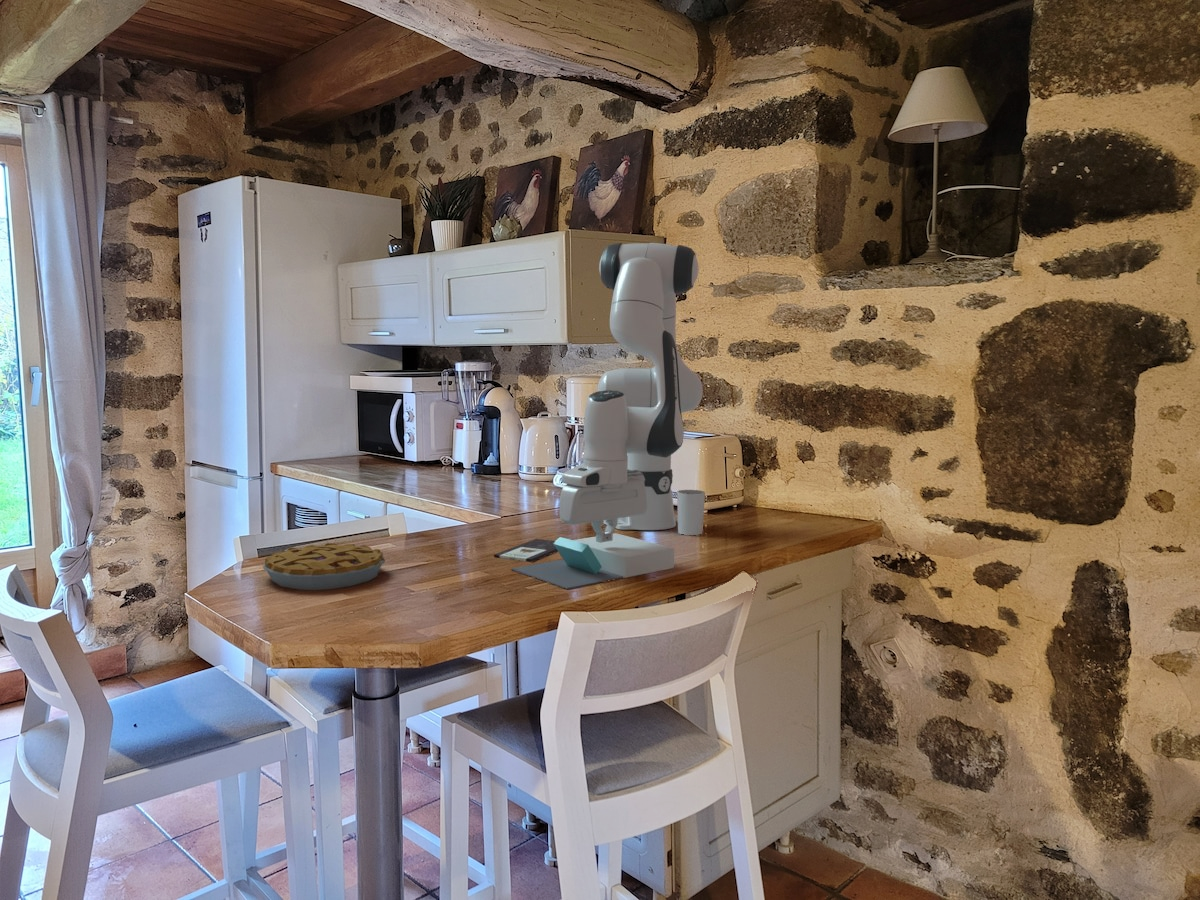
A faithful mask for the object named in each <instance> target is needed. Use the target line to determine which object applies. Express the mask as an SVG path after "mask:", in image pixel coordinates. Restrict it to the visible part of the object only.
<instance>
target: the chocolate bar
mask: <svg viewBox="0 0 1200 900" xmlns="http://www.w3.org/2000/svg"><path fill="white" fill-rule="evenodd" d="M555 541H556V540H552V539H551V540H549V539H541V538H540V539H539V538H535V539H532V540H529V541H527V542H524V543H522V544H519V545H516V546H514V547H511V548H509V549H506V550H503V551H500V552H498V553H494V554H493V557H494V558H498V559H504V560H513V561H514V560H515V561H519V560H520V561H521V562H527V561H528V563H529V562H530V563H533V562H535V561H537V559H538V560H540V559H542V558H544V556H545V557H547V556H549V555H551V553H552V554H554V553H557V552H558V550H557V549H556V547H555V546H554V544H553V543H554V542H555ZM546 555H547V556H546ZM539 558H540V559H539ZM520 561H519V562H520ZM532 561H533V562H532Z"/></svg>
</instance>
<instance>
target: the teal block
mask: <svg viewBox="0 0 1200 900" xmlns="http://www.w3.org/2000/svg"><path fill="white" fill-rule="evenodd" d="M573 540H574V539H573ZM573 540H572V539H568V538H566V537H561V536H559V537H558V538H557V539H556V540H554V541H555V542H554V543H553V544H554V546H555V547H556V549H557V550H558V551H557V552H558V554H559V556H561V558H562V559H563V560H564V561H565V563H566V564H567V565H568V566H571V567H574V568H578V569H581V570H584V571H587V572H590V573H593V574H596V573H597V572H598V571H599V570H600V569H601V568H602V566H601V564H600V563H599V561H598V560H597V558H596V556H595V555H594V553H593V552H592V550H591V548H590V547H589V545H587V544H583V543H580V542H576V541H573Z"/></svg>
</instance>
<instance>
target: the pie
mask: <svg viewBox="0 0 1200 900" xmlns="http://www.w3.org/2000/svg"><path fill="white" fill-rule="evenodd" d="M385 562H386V559H385V557H384V552H382V551H381V549H378V548H375V549H372V548H371V547H370V546H368V545H365V544H363V545H360V546H357V545H355V544H353V543H352V544H351V543H349V544H348V543H347V544H344V545H342V544H341V545H338V544H336V543H328V542H327V543H325V545H320V546H317V545H314V544H312V545H311V544H309V545H306V546H305V547H301V548H297V547H288V548H287V550H286V551H282V552H281V551H278V552H275V553H272V554H271V555H270V556H266V557H265V559H264V561H263V566H262V569H263V570H264V571H266V572H267V574H268V575H269V577H270V579H271V580H272V582H273V583H275V584H277V585H278V586H279V587H283V588H288V589H293V590H300V591H301V590H304V591H305V590H306V591H321V590H334V589H339V588H340V589H341V588H346V587H351V586H357V585H359V584H363V583H366V582H370V581H372V580H373V579H374V578H376V577H378V574H379V573H380V572H379V571H380V570H381V567H382V565H383V564H384V563H385Z"/></svg>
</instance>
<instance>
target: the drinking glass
mask: <svg viewBox="0 0 1200 900" xmlns="http://www.w3.org/2000/svg"><path fill="white" fill-rule="evenodd" d="M676 496H677V503H676V504H677V533H678V535H681V534H684V535H683V536H689V535H696V536H700V535H699V534H701V535H702V534H703V528H704V527H703V526H704V515H705V501H706V500H705V499H706V492H705V491H703V490H698V489H680V490H677V493H676Z"/></svg>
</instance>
